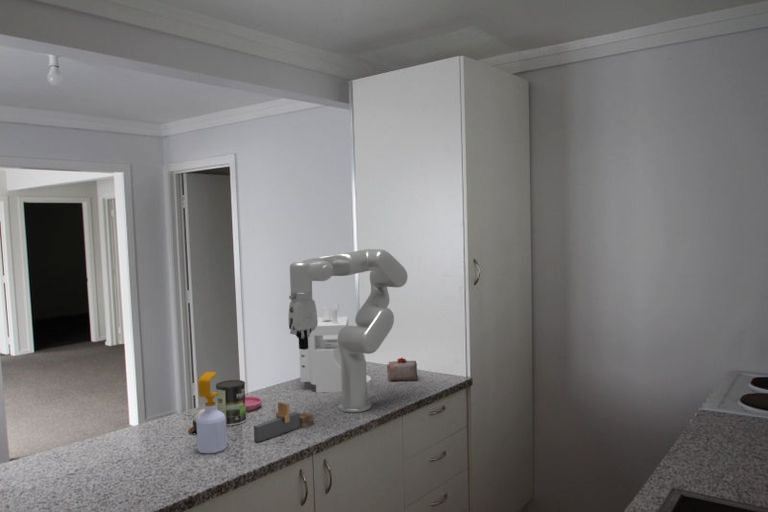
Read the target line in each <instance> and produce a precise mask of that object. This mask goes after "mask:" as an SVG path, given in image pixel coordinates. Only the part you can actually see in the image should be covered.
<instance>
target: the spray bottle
mask: <svg viewBox="0 0 768 512" xmlns="http://www.w3.org/2000/svg"><path fill="white" fill-rule="evenodd" d="M215 376H217V372H216V371H206V372H204V373H203V374H202V375H201V376H200V377H199V378H198V382H197V383H198V394H199V395H198V396H199V397H201V398H205V400H207V402H205V403H204V409H205V411H204V412H203V413H201V414H200V415H199V416H198V417H197V420H196V425H197V434H196V442H197V445H196V446H197V451H198V452H199V453H202V454H205V455H206V454H208V455H209V454H210V453H211V454H217V453H220V452H222V451H224V450H226V449H227V446H228V439H227V435H228V434H227V426H226V417H225V415H224V413H222V412H221V411H218V410H217V401H214V399H215V397H217V395H218V393H217V391H216V392H215V391H211V381H212V379H213V378H215Z"/></svg>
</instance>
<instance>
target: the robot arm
mask: <svg viewBox="0 0 768 512" xmlns="http://www.w3.org/2000/svg"><path fill="white" fill-rule="evenodd" d="M365 272H370V273H369V283H370V294H369V295H368V297H367V299H366V300H365V302H363V305H362V306H361V307H360V309H359V310H358V311H357V313H356V315H355V318H354V322H355V324H356V325H348V326H346V327H343V328H342V329H341V330H340V331H339V334H338V335H337V339H338V346H339V350H340V355H341V373H342V392H341V393H342V397H341V399H342V401H341V403H339V404H338V410H340V411H341V412H344V413H361V412H362V413H363V412H366V411H369V410H370V409H371V408H372V402H370V400H372V399H374V398H375V397H376V394H375V393H374V392H372V393H368V387H367V381H366V375H367V361H366V357H365V354H368V355H370V354H374V353H375V352H376V351H378V349H379V348H380V347H381V345H382V344H383V342H384V341H385V339H386V338H387V336H388V335H389V333H390V331H391V330H392V329H393V326H394V322H395V316H394V312H393V311H392V310H391V309H390V308H389V307H388V306H389V304H390V301H391V299H390V294H389V289H388V288H401V287H404V286H405V285H406V284H407V281H408V278H409V277H408V272H407V269H406V268H405V266H403V265H402V264H401V263H400V262H399V261H398V260H397V258H396V257H395V256H393V255H392V254H391V253H390V252H389V251H387V250H385V249H381V248H379V249H377V248H376V249H375V248H374V249H373V248H372V249H371V248H367V249H359V250H355V251H351V252H345V253H337V254H333V255H325V256H319V257H313V258H307V259H304V260H302V261H295V262H292V263H290V265H289V281H290V295H289V297H288V298H289V300H290V302H289V306H288V327H289V328H288V329H289V333H290V335H295V336H296V338H297V339H298V350H299V349H303V350H305V349H308V337H309V336H310V333H311V332H312V331H314V330H315V328H316V327H317V325H318V321H317V317H318V311H317V306H316V301H315V300H314V299H313V282H325V281H326V282H327V281H328V280H330V279H331V278H332V277H346V276H347V277H348V276H352V275H357V274H359V273H360V274H362V273H365Z"/></svg>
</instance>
